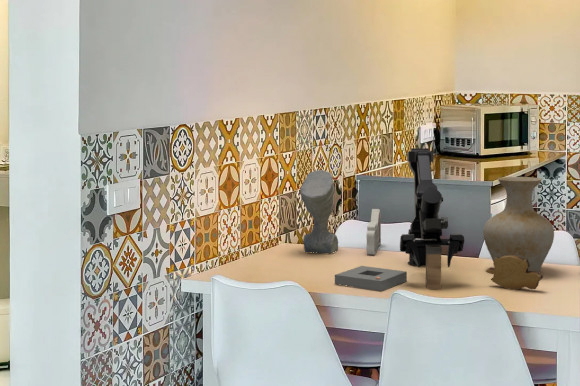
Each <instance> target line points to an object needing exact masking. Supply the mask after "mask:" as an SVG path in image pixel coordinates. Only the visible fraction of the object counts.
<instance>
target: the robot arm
mask: <svg viewBox="0 0 580 386" xmlns="http://www.w3.org/2000/svg"><path fill="white" fill-rule="evenodd" d="M406 161H407V163H408V167H409V170H410V171H411V173H412V174H413V188H414V189H413V190H414V191H413V192H414V194H413V198H414V201H413V202H414V218H413V220H412V222H410V226H409V227H410V228H409V229H408V233H407V234H405V233H403V234H401V236H400V240H399V251H400V252H401V253H402V252H403V253H405V254H406V255H407V254H408V259H409V260H408V262H407V264H409V265H413V266H414V267H418V268H421V267H426V245H440V246H441V247H447V248H448V249H447V254H446V255H447V257H446V258H447V267H448V268H450V266H451V262H452V258H453V256H454V255H455V254H458V252H459V253H461V252H462V251H463V249H464V244H465V237H464V235H463V234H462V233H456V234H455V233H449V234H450V235H449V238H442V236H443V229H444V230H446V229H448V228H449V220H448V217H447V216H441V217H440V218H439V216H440V215H439V212H440V209H441V204H442V203H443V202H444V197H443V195H442V193H441V192H440V190H438V186H437V184H435V183H434V182H433V176H432V174H433V173H432V168H431V166H432V163H434V151H432V150H430V148H427V147H423V148H422V147H415V148H414V147H413V148H412V147H411V148H410V150H409V151H407V153H406Z"/></svg>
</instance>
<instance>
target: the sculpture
mask: <svg viewBox="0 0 580 386" xmlns="http://www.w3.org/2000/svg"><path fill="white" fill-rule="evenodd" d="M333 179H334V178H333V174H332V173H331V172H330V171H326V170H324V169H316V170H313V171H312V172H311V171H310V172H309V173H307V175H306V178H305V179H304V181H303V183H302V185H301V186H300V193H301V195H300V198H301V201H302V202H303V204H304V206H305V209H306V211H308V212H309V213H310V215H311V217H312V218H313V227H312V229H311V232H310V233H309V232H308V233H306V234H304V235H303V239H302V240H303V250H304V251H305V252H304V253H306V252H312V253H311V254H321V253H333V252H335V251H336V250H337V249H338V248H339V239H338V236H337V235H336V234H334V233H332V232H330V231H329V228H328V227H329V225H328V223H329V218H330V216H331V215H332V213H333V211H334V208H335V207H334V199H335V196H334V194H335V190H336V189H335V185H334V180H333ZM338 250H339V249H338ZM338 250H337V251H338ZM337 251H336V252H337ZM313 252H314V253H313ZM316 252H317V253H316ZM336 252H335V253H336ZM333 254H334V253H333Z"/></svg>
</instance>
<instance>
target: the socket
mask: <svg viewBox="0 0 580 386" xmlns="http://www.w3.org/2000/svg"><path fill="white" fill-rule="evenodd" d="M407 275H408V272H407V271H406V270H405V271H404V270H400V269H399V270H398V269H390V268H381V267H374V266H366V265H360V266H357V267H354V268H351V269H348V270H345V271H342V272H339V273H336V274H334V285H335V284H341V285H347V286H346V287H348V286H353V287H352V288H355V287H358V288H357V289H362V288H363V289H362V290H370V291H377V292H378V291H379V292H382V291H383V292H384V291H385V290H388V289H390V288H393V287H396V286H398V285H400V284H403V283H405V282H407V280H408V278H407V277H408V276H407ZM341 285H340V286H341Z"/></svg>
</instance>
